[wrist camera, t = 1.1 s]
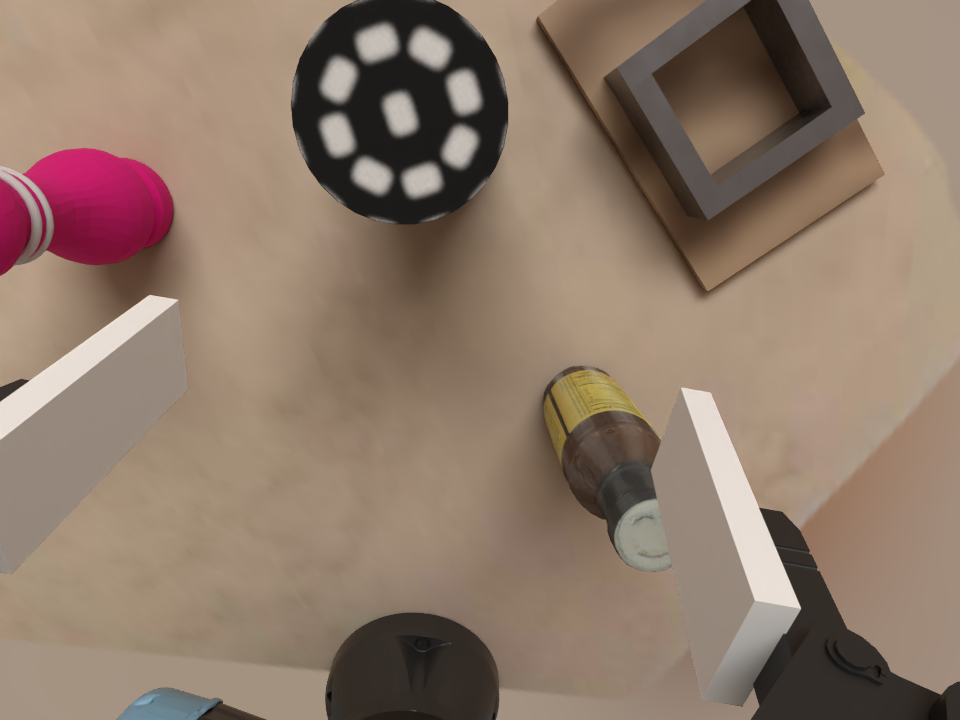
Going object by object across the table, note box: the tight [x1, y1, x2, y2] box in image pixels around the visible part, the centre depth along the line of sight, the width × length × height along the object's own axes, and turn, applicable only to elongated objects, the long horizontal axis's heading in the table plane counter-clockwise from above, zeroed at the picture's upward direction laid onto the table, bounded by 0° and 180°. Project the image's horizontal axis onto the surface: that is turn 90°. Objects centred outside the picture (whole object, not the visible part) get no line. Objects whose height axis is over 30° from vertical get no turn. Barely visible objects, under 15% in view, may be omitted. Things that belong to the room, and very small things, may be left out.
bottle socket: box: [604, 0, 865, 220], centre depth 40 cm, size 11×11×4 cm
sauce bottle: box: [543, 366, 672, 572], centre depth 39 cm, size 6×6×20 cm
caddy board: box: [536, 0, 885, 291], centre depth 42 cm, size 22×14×1 cm, turn 36°
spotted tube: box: [291, 0, 508, 224], centre depth 34 cm, size 8×8×20 cm
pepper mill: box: [0, 148, 173, 276], centre depth 35 cm, size 7×7×20 cm
